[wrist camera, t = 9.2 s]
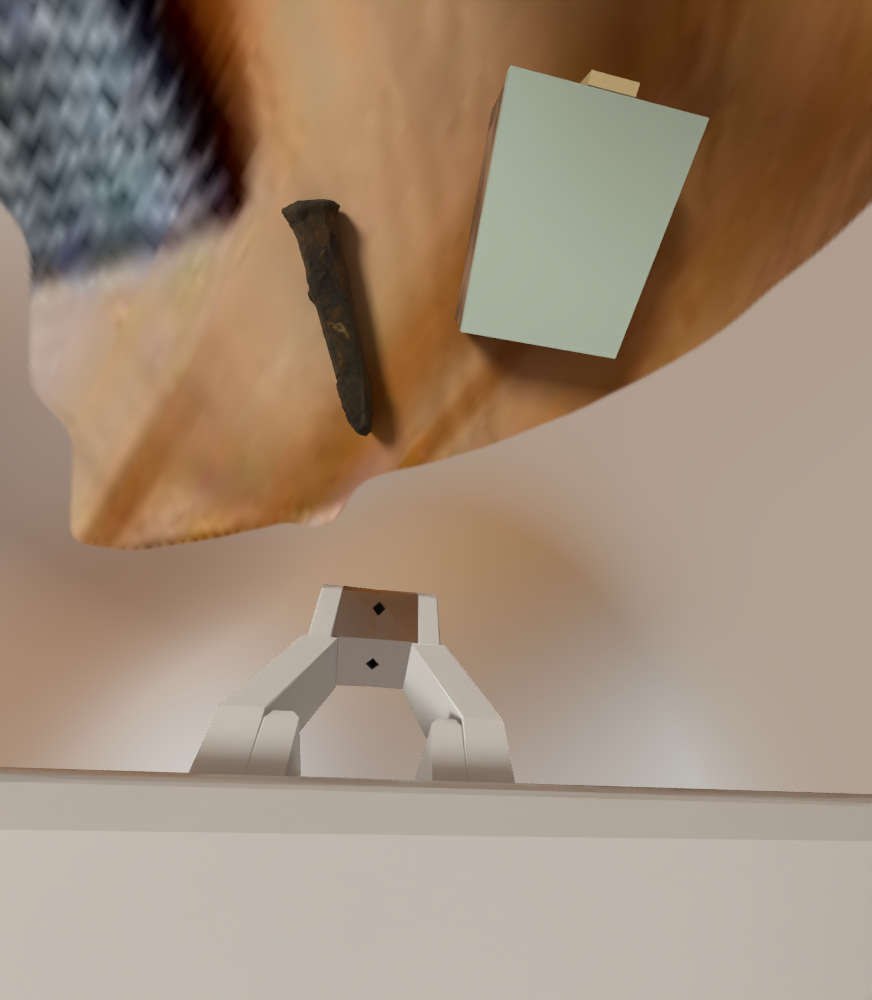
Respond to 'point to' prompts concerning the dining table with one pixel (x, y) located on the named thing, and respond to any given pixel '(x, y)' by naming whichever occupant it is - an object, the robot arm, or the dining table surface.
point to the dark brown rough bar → (333, 303)
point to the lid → (574, 209)
